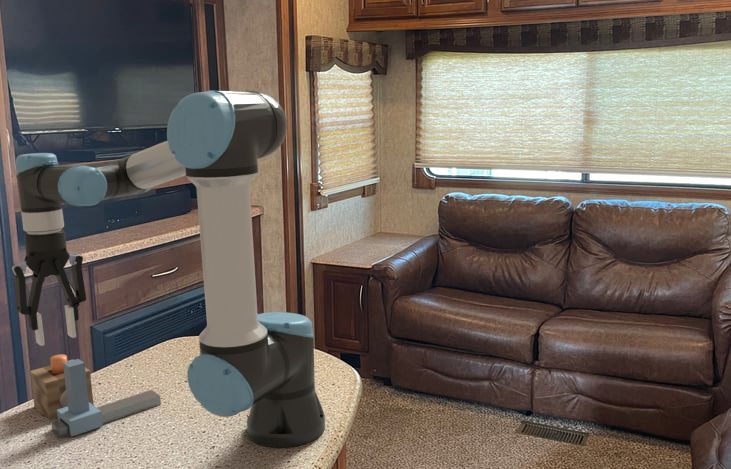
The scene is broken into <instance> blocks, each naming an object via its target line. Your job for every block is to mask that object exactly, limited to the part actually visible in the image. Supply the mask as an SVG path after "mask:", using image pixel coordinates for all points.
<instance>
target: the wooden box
mask: <svg viewBox="0 0 731 469" xmlns="http://www.w3.org/2000/svg"><path fill="white" fill-rule="evenodd" d="M72 360H75V359H69V360H67V362H69V361H72ZM85 372H86V381H87V391H88V400H89V402H90V403H91V404H92V405H94V406H95V404H94V396H93V388H92V378H91V377H92V376H91V375H92V374H91V370H90V369H89V368H87V367H86V366H85ZM29 373H30V374H29V375H30V381H31V388H32V390H31V391H32V396H33V397H32V398H33V405H34V408H36V409H37V410H38V411H39V412H40V413H41V414H42V415H44V416H45V417H46V418H47V419H48V420H50V421H51V420H55V419H58V416H57V410H58V409H61V408H64V407H68V403H67V394H66V385H65V376H64V373H63V374H59V375H54V374H52V370H51V364H50V365H47V366H43V367H39V368H36V369H31V370H29Z"/></svg>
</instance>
